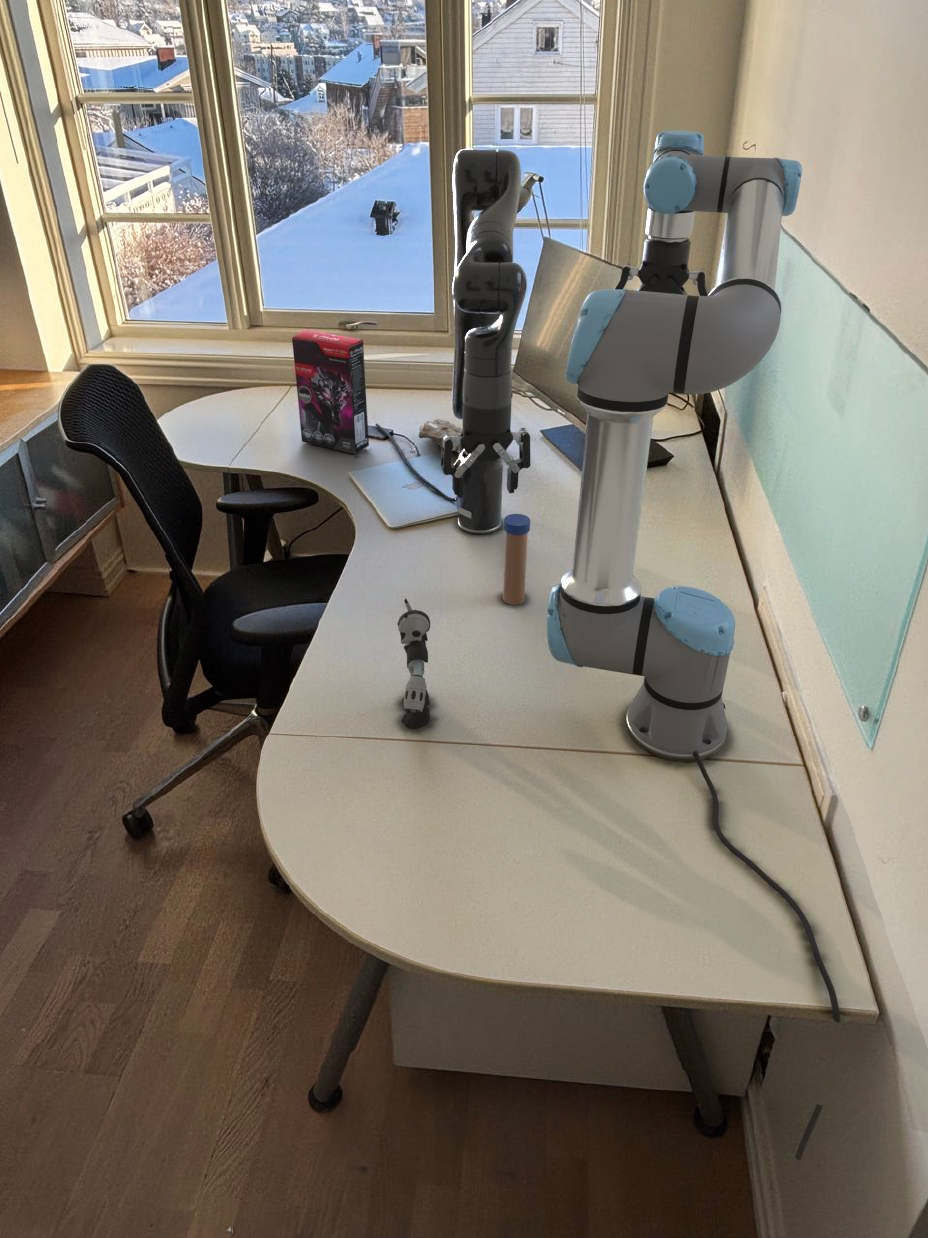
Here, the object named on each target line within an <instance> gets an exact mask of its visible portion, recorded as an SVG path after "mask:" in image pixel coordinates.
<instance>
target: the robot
mask: <svg viewBox="0 0 928 1238" xmlns="http://www.w3.org/2000/svg"><path fill="white" fill-rule="evenodd" d="M403 602H404V604H405V607H406V610H407V611H406V612H404V613H403V614H402V615H400V616H399V617H398V621H397V623H396V624H397V625H396V626H397V627H398V629H397V630H398V631H399V635H400V644H401V645H403V649H404V652H405V654H406V669H408V671H409V674H410V677H409V678H408V679H407V680H408V681H407V682H406V685H405V689H404V696H403V697H402V700H401V705H402V706H403V708H404V713H403V716H402V718H401V723H402V725H404V726H405V727H406V728H410V729H419V728H421V727H424V726H426V725H428V724H429V722H430V719H431V717H430V716H431V715H430V709H429V706H430V695H429V692H428V689H427V683H426V678H425V677H424V674H425V664H427V663H429V650H428V648H427V641H429V640H428V639H429V638H428V634H427V633H428V632H430V629H431V620H430V617H429V615H428V614H427V613H426V612H424V611H422V610H419V609H413V608H412V606H411V604H410V602H409V600H408V599H407V598H404V600H403Z"/></svg>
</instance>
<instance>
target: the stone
mask: <svg viewBox="0 0 928 1238" xmlns="http://www.w3.org/2000/svg"><path fill="white" fill-rule="evenodd" d="M418 429H419V432H418V437H419V439H430V440H431V441H432V443H433V444H436V445H438V446H439V447H440V449H442V436H443V435H444V434H448V435H449V436H460V435H461V433H462V429H463V428H462V427H459V426H456V425H455V424H454V423H451V422H450V421H449V420H443V419H437V418H436V419H433V420H426V421H424V423H423V424H421V425H420V426H419V428H418ZM453 452H456V453H458V454H459V444H458V445H457V447H456V449H455V450H454V451H453Z"/></svg>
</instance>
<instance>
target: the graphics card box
mask: <svg viewBox="0 0 928 1238" xmlns="http://www.w3.org/2000/svg"><path fill="white" fill-rule="evenodd" d="M291 343H292V352H293V361H294V372H295V373H294V374H295V383H296V392H297V405H298V415H299V424H300V436H301V442H302V443H306V444H310V445H314V446H318V447H324V448H327V449H332V450H336V451H339V452H344V453H349V454H353V455H355V454H358V453H359V452H361V451H363V450H365V449H366V448H367V447H369V446H370V440H369V423H368V421H369V420H368V405H367V404H368V403H367V389H366V370H365V349H364V348H365V347H364V340H363V338H355V337H350V336H344V335H338V334H334V333H327V332H322V331H318V330H317V331H316V330H311V329H304V330H301V331H299V332H297V333H295V335H293V336H292V337H291Z"/></svg>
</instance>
